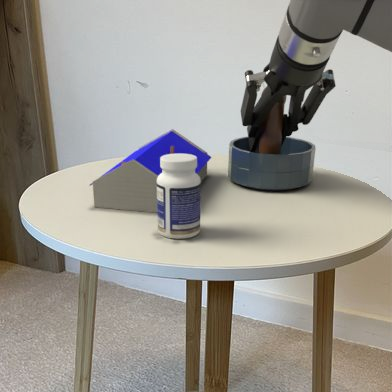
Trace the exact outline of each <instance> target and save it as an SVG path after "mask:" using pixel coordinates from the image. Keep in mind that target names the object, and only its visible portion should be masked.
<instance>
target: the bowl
mask: <svg viewBox="0 0 392 392" xmlns="http://www.w3.org/2000/svg"><path fill="white" fill-rule="evenodd" d="M248 138H249V137H248V136H243V137H242V136H241V137H238V138H234V139H232V140H230V142H229V144H228V164H227V177H228V179H229V180H230V181H231V182H233V183H236V184H237V185H240V186H243V187H246V188H249V189H255V190H260V191H275V192H276V191H288V190H294V189H297V188H301V187H305V186H308V185H309V184H310V183H312V182H313V174H314V166H315V157H316V144H315V143H313V142H311V141H309V140H305V139H301V138H296V137H291V136H286V138H285V140H284V142H283V144H282V147H281V154H263V153H259V143H258V145H257V148H256V150H255V152H250V146H249V139H248Z"/></svg>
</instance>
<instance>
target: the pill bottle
mask: <svg viewBox="0 0 392 392" xmlns="http://www.w3.org/2000/svg"><path fill="white" fill-rule="evenodd" d="M160 167H161V168H162V173H161V174H160V175H159V176H158V178H157V213H156V214H157V215H156V216H157V217H156V219H157V231H158V233H159V234H160V235H161V236H163V237H164V238H168V239H174V240H175V239H176V240H183V239H190V238H193V237H195V236H198V235H199V233H200V231H201V204H202V203H201V196H202V195H201V192H202V189H201V187H202V182H201V180H200V177H199V175H198V174H196V173H195V169H196V167H197V157H196V156H194V155H191V154H182V153H177V154H167V155H164V156H161V158H160Z"/></svg>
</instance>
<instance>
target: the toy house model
mask: <svg viewBox="0 0 392 392" xmlns="http://www.w3.org/2000/svg"><path fill="white" fill-rule="evenodd" d="M177 153H182V154H191V155H194V156H196V157H197V167H196V169H195V173H196V174H198V175H199V177H200V180H201V183H202V182H203V180H204V179H205V178H206V177H207V176H208V162H209V161H210V160H211V159H212V156H211V155H209V154H208V152H207V151H206V150H204V149H202V148H201V147H200V146H198V145H197V144H195V143H194V142H192V141H191V140H189V138H186V137H185V136H184V135H182V134H181V133H180V132H178V131H176V130H175V129H174V128H172V129H170V130H168V131H167V132H164V133H163V134H161V135H160V136H158V137H156V138H154V139H152V140H150V141H149V142H147V143H145V144H143V145H142V146H140V147H138V149H137V150H135V151H134V152H132V153H131V154H129V155H128V156H127V157H125V158H124V159H122V160H121V161H120V162H118V163H117V164H115V165H114V166H113V167H112V168H109V170H107V171H106V172H105V173H104V174H102V175H101V176H99V177H98V178H96V179H94V180H93V181H92V182H91V183H90V184H89V185H88V186H90V187H91V186H92V193H93V205H94V206H93V207H94V208H101V209H112V210H123V211H136V212H146V213H154V214H155V213H156V214H157V178H158V176H159V175H160V174H161V173H162V168H161V167H160V158H161V156H164V155H167V154H177Z"/></svg>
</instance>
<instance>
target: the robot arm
mask: <svg viewBox="0 0 392 392" xmlns="http://www.w3.org/2000/svg"><path fill="white" fill-rule="evenodd" d="M343 31H345V32H347V33H350V34H351V35H353V36H357V37H359V38H361V39H363V40H366V41H367V42H369V43H371V44H374V45H376V46H377V47H379V48H382V49H384V50H386V51H388V52H391V53H392V0H289V3H288V5H287V9H286V12H285V14H284V17H283V20H282V22H281V26H280V29H279V31H278V35H277V38H276V41H275V43H274V46H273V49H272V52H271V55H270V58H269V62H268V64H267V65H265V66H264V68H263V70H262V71H260V72H257V73H254V71H253V70H251V69H248V70H246V71H244V77H245V78H244V79H245V89H244V93H243V98H242V103H241V106H240V118H241V123H242V127H246V131H247V132H246V133H247V137H249V138H248V139H249V146H250V152H255V150H256V148H257V145H258V143H259V140H260V137H261V135H262V132H263V130H264V128H263V121H264V120H265V118H266V117H267V115H268V114H269V112H270V111H271V109H272V108H273V106H274V105H275V103H279V101H280V100H281V98H282V97H283V96H285V95H286V96H289V97H290V98H289V104H288V111H287V113H284V118H283V130H282V142H281V147H282V144H283V142H284V140H285V138H286V137H291V136H292V135H293V133H295V132H298V131H299V124H302V125H303V126H307V125H309V124H310V123H311V121H312V119H313V118H314V116H315V115H316V114H317V111H318V110H319V108H320V106H321V105H322V103H323V101H324V100H325V98H326V97H327V95H328V94H329V93H330V92H331V91H333V90H334V89H335V88H336V86H337V85H336V79H335V75H334V70H333V69H330V68H329V69H327V70H325V69H326V68H327V67H326V66H327V65H328V63H329V60H330V58H331V55H332V54H333V52H334V49H335V47H336V45H337V44H338V41H339V39H340V37H341V34H342V33H343ZM263 83H265V84H266V87H267V88H266V87H265V88H266V89H265V88H264V89H265V91H264V93H263V94H262V93H261V94H262V96H261V95H260V97H259V99H258V100H257V98H258V92H260V90H261V89H260V88H261V87H262V84H263ZM309 89H310V91H309V93H308V94H307V97H306V99H305V95H306V92H307V91H308V90H309Z"/></svg>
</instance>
